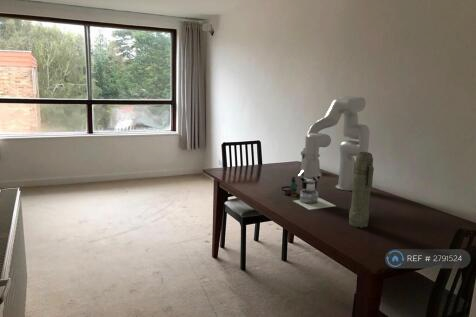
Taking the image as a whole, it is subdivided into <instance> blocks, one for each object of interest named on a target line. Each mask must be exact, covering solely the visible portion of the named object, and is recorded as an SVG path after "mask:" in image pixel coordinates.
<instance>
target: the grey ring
mask: <svg viewBox="0 0 476 317" xmlns="http://www.w3.org/2000/svg"><path fill="white" fill-rule="evenodd" d="M318 198H319V191H318V190H312V191H309V190H305V189H301V190H299V200H300V202H302V203H305V204H316V203H317V202H318Z"/></svg>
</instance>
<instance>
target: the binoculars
mask: <svg viewBox="0 0 476 317" xmlns="http://www.w3.org/2000/svg"><path fill="white" fill-rule="evenodd" d="M290 182H291V183H290V186H287V185H285V186H282V187H280V188H281V191H282V192H284V196H292V197H297V194H298V193H297V187H298V186H299V184H297V180H296V177H295V176H292V177H291V181H290Z"/></svg>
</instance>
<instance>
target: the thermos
mask: <svg viewBox="0 0 476 317" xmlns="http://www.w3.org/2000/svg"><path fill="white" fill-rule="evenodd" d="M373 157H374V156H373V154H372V153H370V152H369V151H368V152H360V153H358V155H357V156H355V163H354V174H353V180H352V194H351V205H350V209H349V212H348V214H349V215H348V218H349V219H348V225H349V226H351V225H352V226H351V227H353V226H354V228H357V227H360V228H359V229H364V228H363V227H366V228H368V226H369V225H368V224H369V219H370V210H369V208H370V198H371V191H372V188H373V178H374V169H375V168H374V158H373Z"/></svg>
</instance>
